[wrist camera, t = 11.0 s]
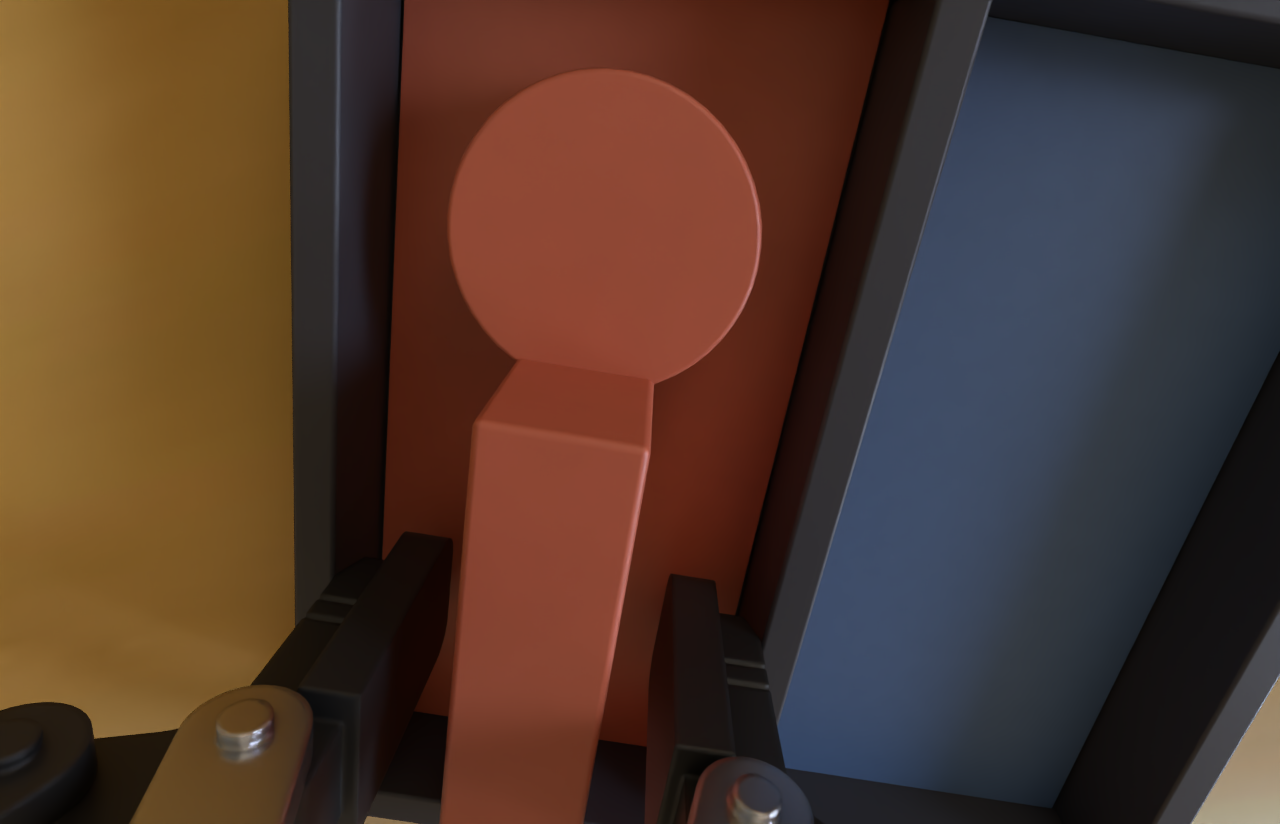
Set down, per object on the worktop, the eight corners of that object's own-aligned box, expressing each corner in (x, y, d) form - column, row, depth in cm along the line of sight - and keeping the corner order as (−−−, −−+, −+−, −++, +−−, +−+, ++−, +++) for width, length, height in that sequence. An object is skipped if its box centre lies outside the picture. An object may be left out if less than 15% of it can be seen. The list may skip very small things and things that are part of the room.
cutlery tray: (378, -135, 9) (282, -230, 7) (1428, 56, 10) (1670, 26, 7) (356, 698, 14) (295, 806, 12) (1055, 805, 15) (1129, 931, 12)
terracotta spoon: (442, 707, 13) (354, 926, 10) (493, 58, 9) (380, -3, 6) (641, 737, 13) (632, 965, 10) (773, 107, 10) (843, 80, 6)
